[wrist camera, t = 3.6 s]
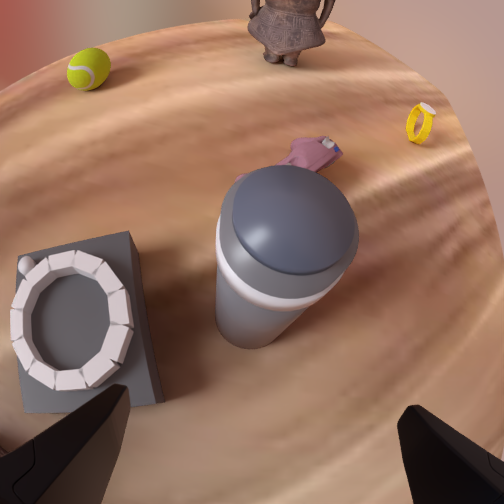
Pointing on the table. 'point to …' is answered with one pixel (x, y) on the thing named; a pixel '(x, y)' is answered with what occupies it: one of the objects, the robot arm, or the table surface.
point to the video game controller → (311, 154)
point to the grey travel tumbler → (278, 250)
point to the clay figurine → (288, 27)
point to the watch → (427, 124)
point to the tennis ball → (88, 69)
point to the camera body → (82, 325)
